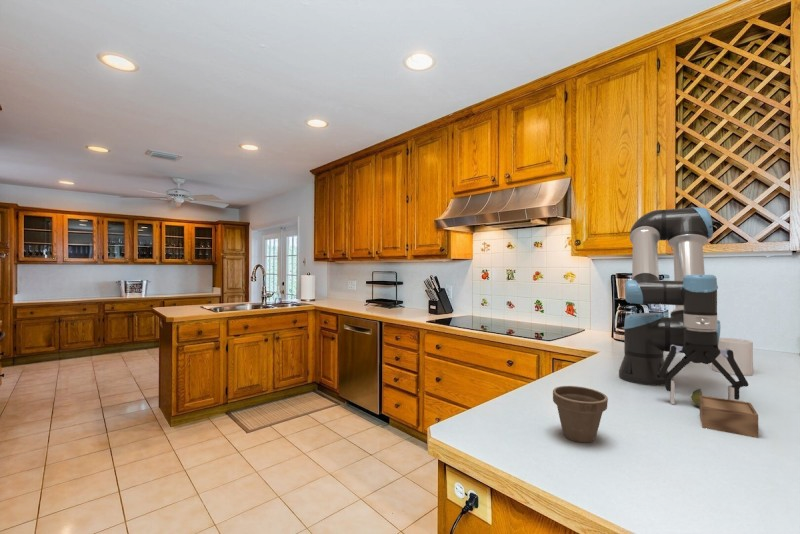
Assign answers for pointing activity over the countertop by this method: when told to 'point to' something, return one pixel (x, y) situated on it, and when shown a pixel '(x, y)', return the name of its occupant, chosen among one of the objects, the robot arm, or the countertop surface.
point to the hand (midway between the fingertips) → (700, 406)
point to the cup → (736, 355)
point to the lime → (696, 397)
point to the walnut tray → (728, 416)
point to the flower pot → (579, 411)
